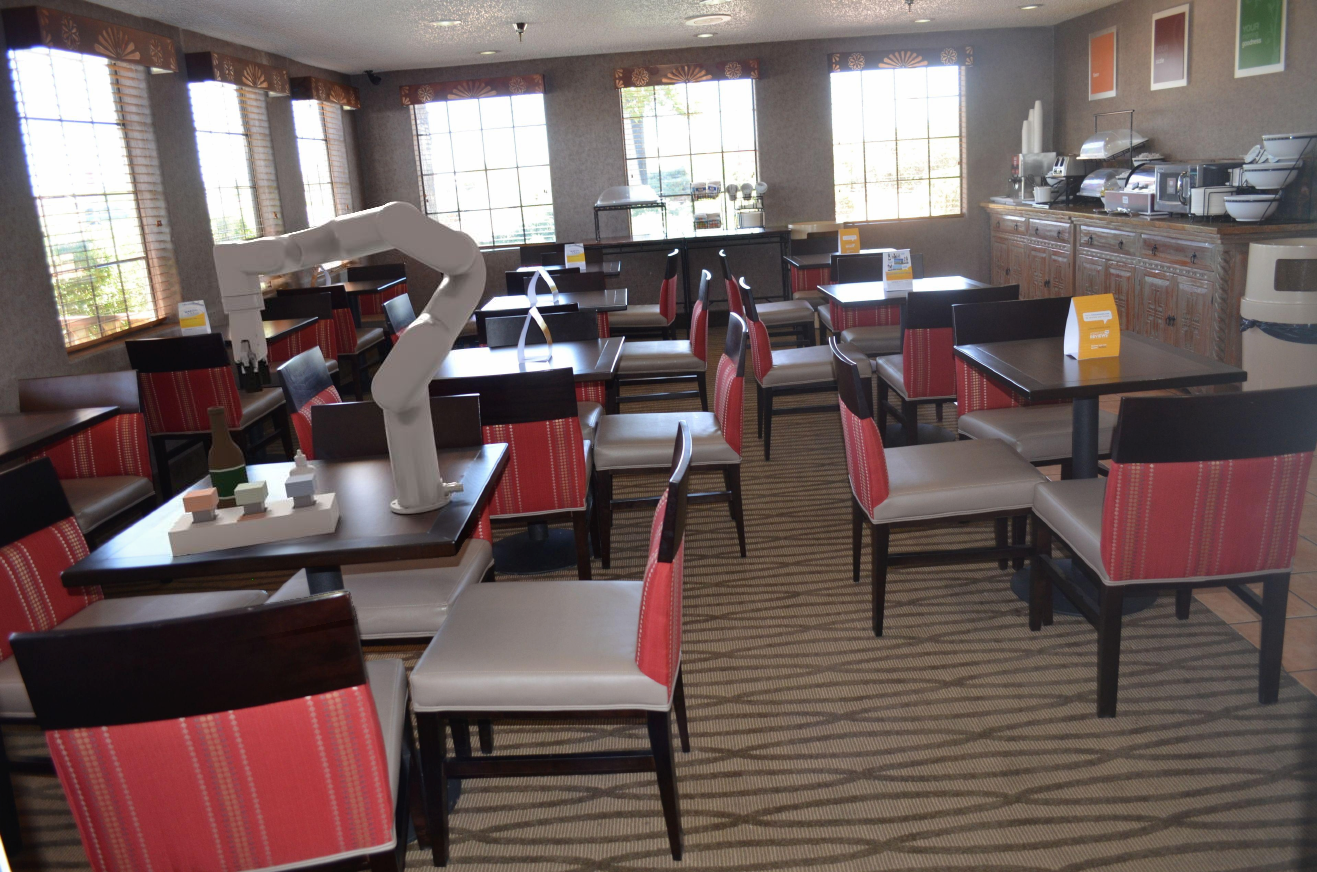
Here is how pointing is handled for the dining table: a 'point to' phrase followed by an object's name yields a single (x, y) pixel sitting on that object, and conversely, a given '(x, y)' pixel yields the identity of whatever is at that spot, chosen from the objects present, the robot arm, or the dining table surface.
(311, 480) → the slate button
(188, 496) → the terracotta button
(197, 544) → the console
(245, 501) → the sage button
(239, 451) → the beer bottle
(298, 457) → the eye dropper bottle
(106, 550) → the dining table surface
